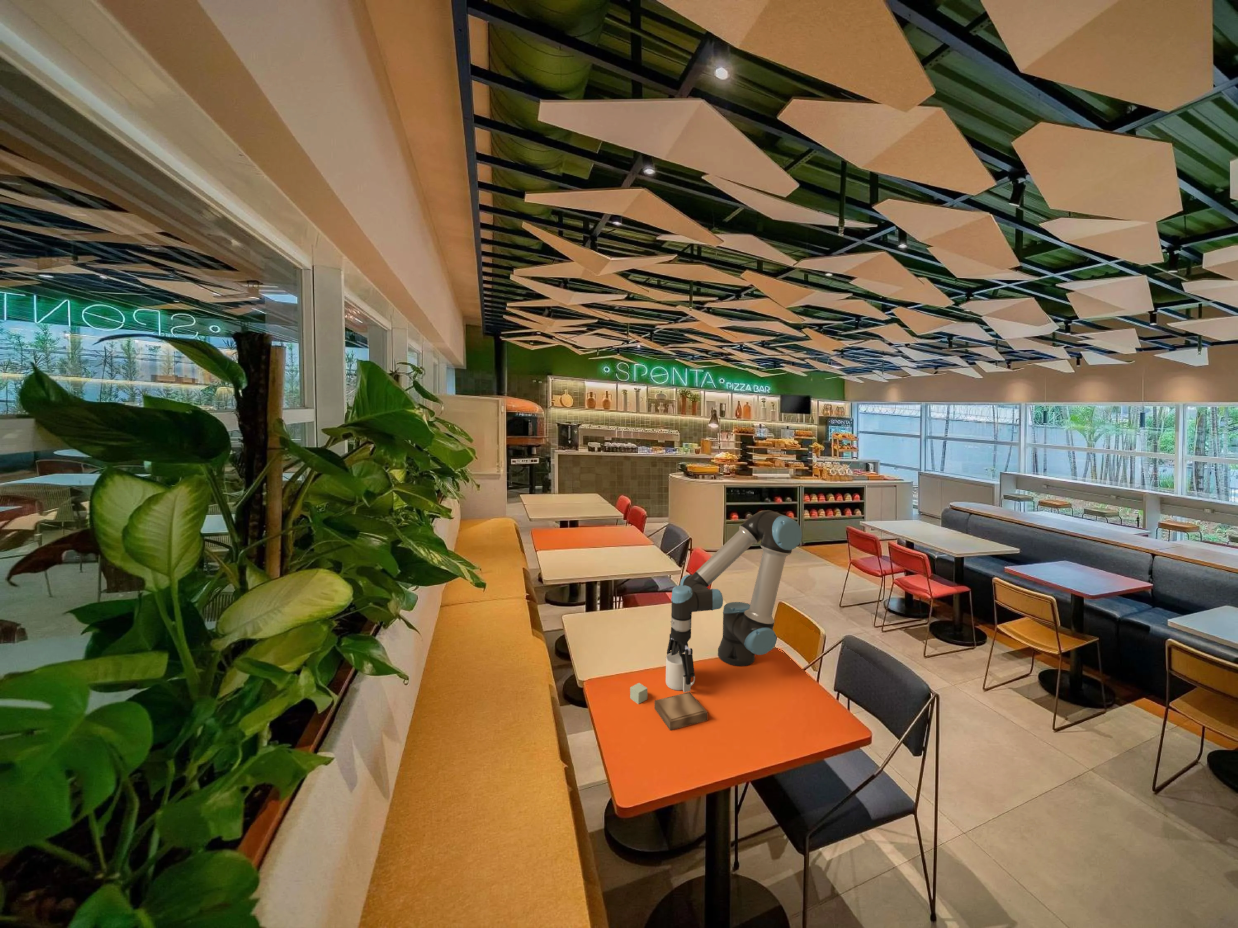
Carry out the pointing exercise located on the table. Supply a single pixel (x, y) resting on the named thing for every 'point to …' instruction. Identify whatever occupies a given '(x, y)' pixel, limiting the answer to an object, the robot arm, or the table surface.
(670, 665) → the mug
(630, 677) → the table surface
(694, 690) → the table surface
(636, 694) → the sage block
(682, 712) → the slab
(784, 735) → the table surface
